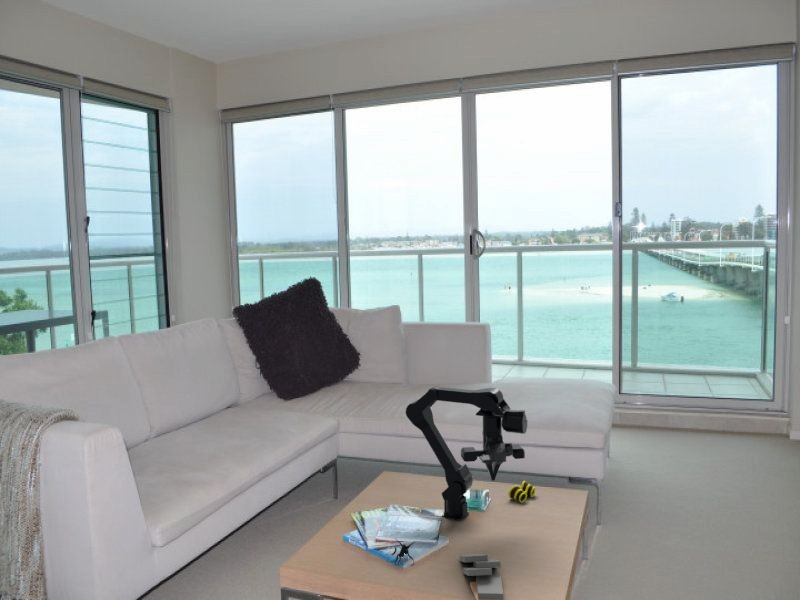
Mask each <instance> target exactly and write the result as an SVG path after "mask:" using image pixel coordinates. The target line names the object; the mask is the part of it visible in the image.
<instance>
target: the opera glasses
mask: <svg viewBox="0 0 800 600" xmlns="http://www.w3.org/2000/svg"><path fill="white" fill-rule="evenodd" d="M536 491H537V489H536V486H532V484H530V483H527V482H526V480H523V481H522V483H521V486H520V485H513V486H512V487H511V488H509V490H508V493H507V494H508V498H509V499H510V500H514V501H517V502H519V503H524V502H526V501H527V497H530V498H533V497H535V494H536Z"/></svg>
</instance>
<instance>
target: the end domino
mask: <svg viewBox="0 0 800 600" xmlns="http://www.w3.org/2000/svg"><path fill="white" fill-rule="evenodd" d="M469 586H470V589H471V591H472V593H473V597H474V599H475V600H503V599H478V593H477V582H476V581H470V582H469Z"/></svg>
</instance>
